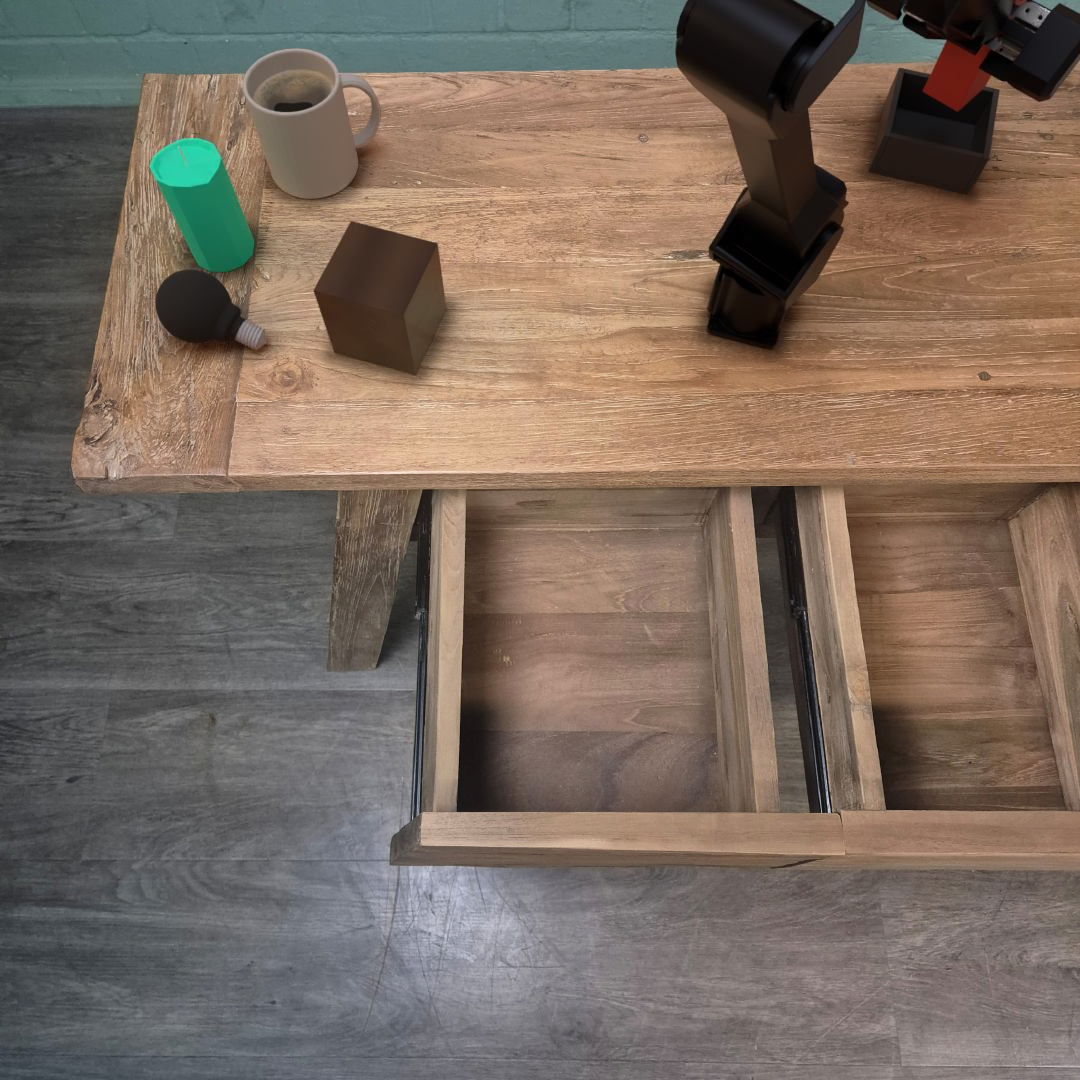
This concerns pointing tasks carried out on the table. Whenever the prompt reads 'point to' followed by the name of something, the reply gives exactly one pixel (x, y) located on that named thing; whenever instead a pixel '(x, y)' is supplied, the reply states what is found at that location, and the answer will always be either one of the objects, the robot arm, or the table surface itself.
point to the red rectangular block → (958, 74)
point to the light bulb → (203, 311)
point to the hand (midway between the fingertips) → (980, 44)
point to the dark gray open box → (933, 135)
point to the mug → (306, 121)
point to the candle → (204, 203)
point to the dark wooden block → (382, 297)
